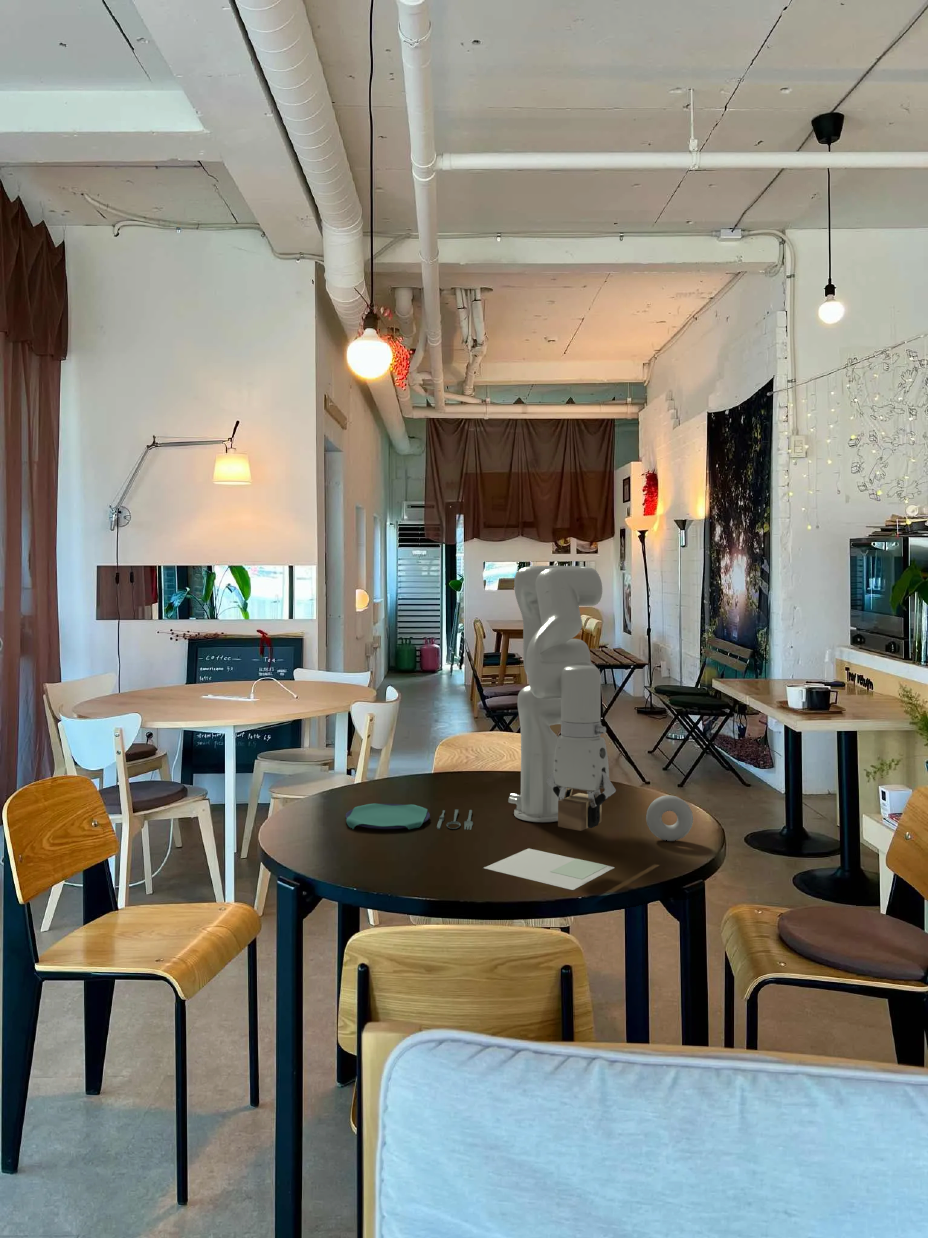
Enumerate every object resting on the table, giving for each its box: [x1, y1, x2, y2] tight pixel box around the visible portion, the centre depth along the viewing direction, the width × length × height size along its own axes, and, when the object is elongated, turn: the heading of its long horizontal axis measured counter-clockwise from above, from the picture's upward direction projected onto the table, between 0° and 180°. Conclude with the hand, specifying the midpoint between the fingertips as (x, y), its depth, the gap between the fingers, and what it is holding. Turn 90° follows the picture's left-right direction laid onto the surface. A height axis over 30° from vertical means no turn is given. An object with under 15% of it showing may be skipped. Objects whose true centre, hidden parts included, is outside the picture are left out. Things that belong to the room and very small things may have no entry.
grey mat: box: [483, 847, 615, 891], centre depth 171 cm, size 20×16×1 cm
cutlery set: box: [345, 802, 474, 831], centre depth 207 cm, size 20×30×2 cm, turn 87°
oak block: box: [557, 792, 603, 831], centre depth 170 cm, size 8×5×5 cm, turn 143°
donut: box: [645, 794, 694, 842], centre depth 191 cm, size 10×4×10 cm, turn 80°
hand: (580, 823), depth 170 cm, fingers closed on oak block, 5 cm apart
